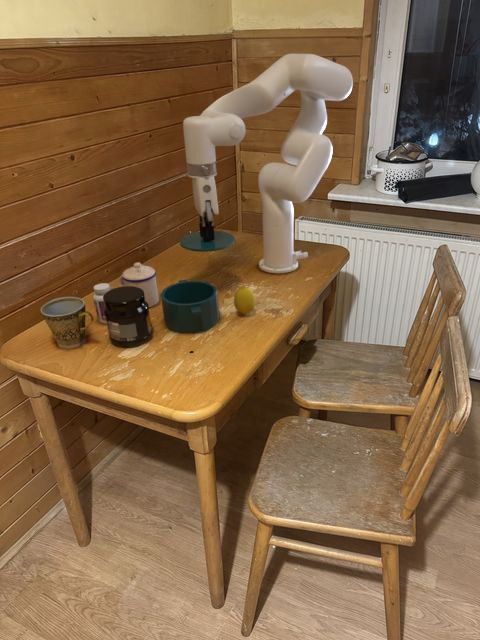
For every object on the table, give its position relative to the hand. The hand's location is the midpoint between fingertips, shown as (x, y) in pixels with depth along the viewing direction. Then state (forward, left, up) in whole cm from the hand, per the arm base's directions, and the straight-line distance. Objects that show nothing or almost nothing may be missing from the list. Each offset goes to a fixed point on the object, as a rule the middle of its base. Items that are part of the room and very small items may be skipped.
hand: (207, 237), depth 140 cm
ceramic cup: (+38, +18, -16) cm, 45 cm away
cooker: (+9, +16, -16) cm, 24 cm away
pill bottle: (+30, +8, -16) cm, 35 cm away
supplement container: (+25, +20, -16) cm, 36 cm away
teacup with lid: (+21, 0, -16) cm, 26 cm away
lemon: (-5, +18, -16) cm, 25 cm away
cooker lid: (0, 0, -1) cm, 1 cm away
